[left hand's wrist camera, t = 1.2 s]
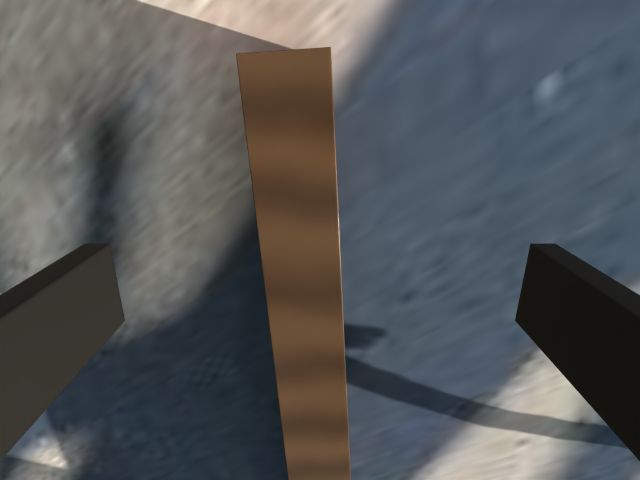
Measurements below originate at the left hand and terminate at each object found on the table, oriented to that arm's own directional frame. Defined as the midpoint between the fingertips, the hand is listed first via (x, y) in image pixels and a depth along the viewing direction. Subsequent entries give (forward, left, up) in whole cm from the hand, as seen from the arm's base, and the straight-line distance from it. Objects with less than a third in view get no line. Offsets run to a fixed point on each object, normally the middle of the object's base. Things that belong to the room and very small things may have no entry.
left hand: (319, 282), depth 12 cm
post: (+11, +16, -22) cm, 29 cm away
